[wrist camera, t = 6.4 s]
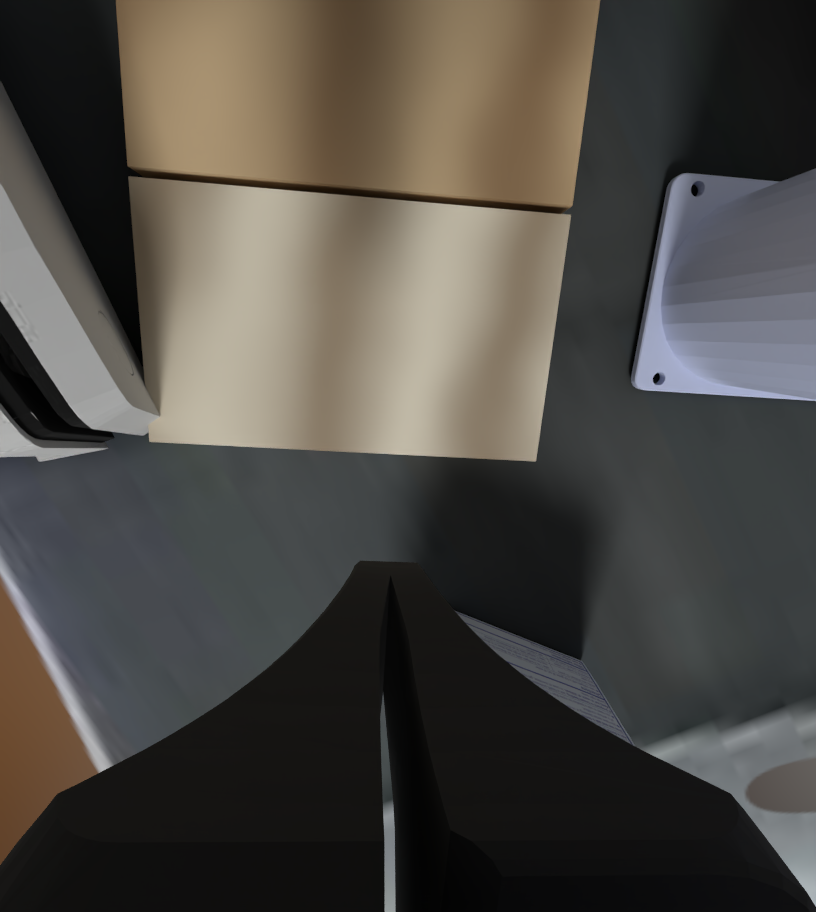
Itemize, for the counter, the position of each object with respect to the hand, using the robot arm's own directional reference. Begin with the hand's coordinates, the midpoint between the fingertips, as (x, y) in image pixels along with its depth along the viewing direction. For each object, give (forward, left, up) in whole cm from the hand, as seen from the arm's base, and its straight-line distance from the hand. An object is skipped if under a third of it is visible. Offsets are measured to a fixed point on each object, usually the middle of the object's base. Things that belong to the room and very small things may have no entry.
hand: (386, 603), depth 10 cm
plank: (+1, -14, -10) cm, 18 cm away
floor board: (+2, -6, -10) cm, 12 cm away
